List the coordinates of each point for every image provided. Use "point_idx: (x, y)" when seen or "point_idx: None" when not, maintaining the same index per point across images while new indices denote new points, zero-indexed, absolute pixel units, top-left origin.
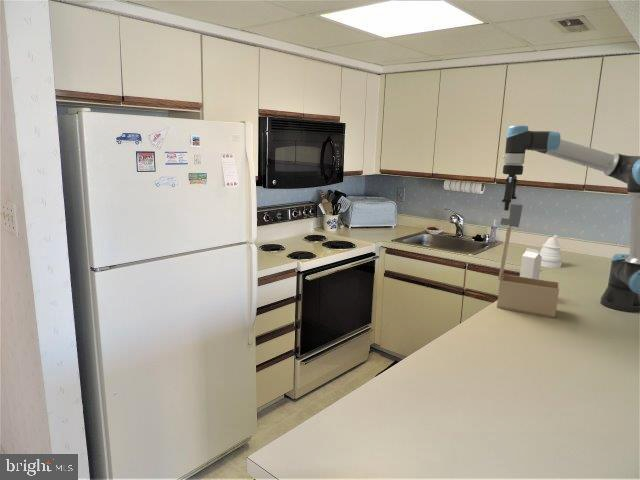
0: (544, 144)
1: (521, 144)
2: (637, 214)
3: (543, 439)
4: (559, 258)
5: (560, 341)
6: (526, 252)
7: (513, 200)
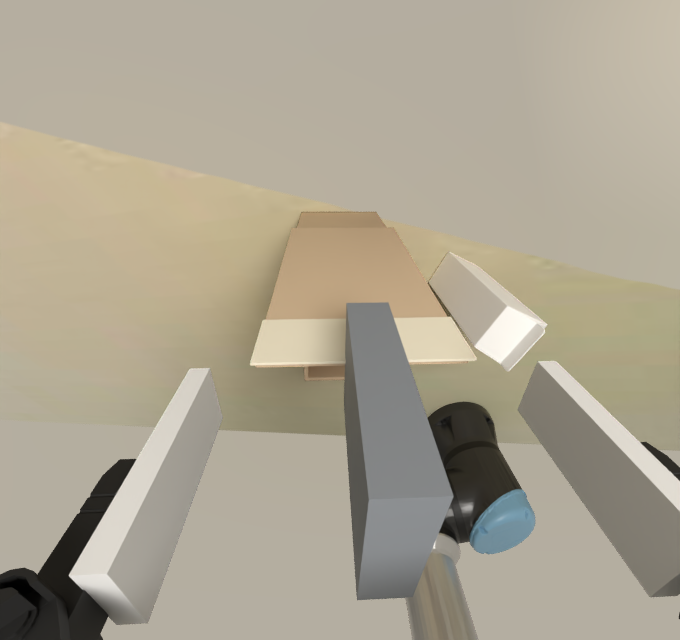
0: None
1: None
2: None
3: None
4: None
5: (176, 348)
6: (525, 323)
7: (642, 572)
